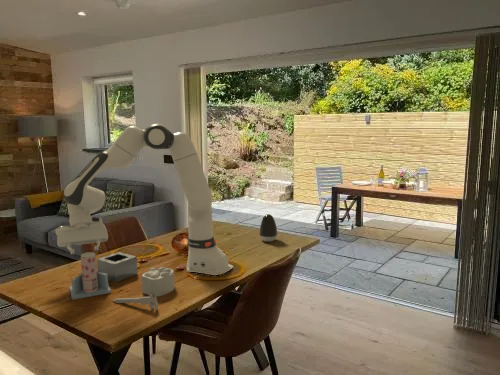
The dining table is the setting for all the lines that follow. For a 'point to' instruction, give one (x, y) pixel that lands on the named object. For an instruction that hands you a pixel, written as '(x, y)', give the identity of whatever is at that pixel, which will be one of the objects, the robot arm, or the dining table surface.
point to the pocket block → (117, 266)
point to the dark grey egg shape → (268, 228)
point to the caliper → (140, 301)
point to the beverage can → (89, 272)
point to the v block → (102, 289)
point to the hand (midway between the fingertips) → (85, 252)
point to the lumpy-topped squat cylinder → (158, 281)
